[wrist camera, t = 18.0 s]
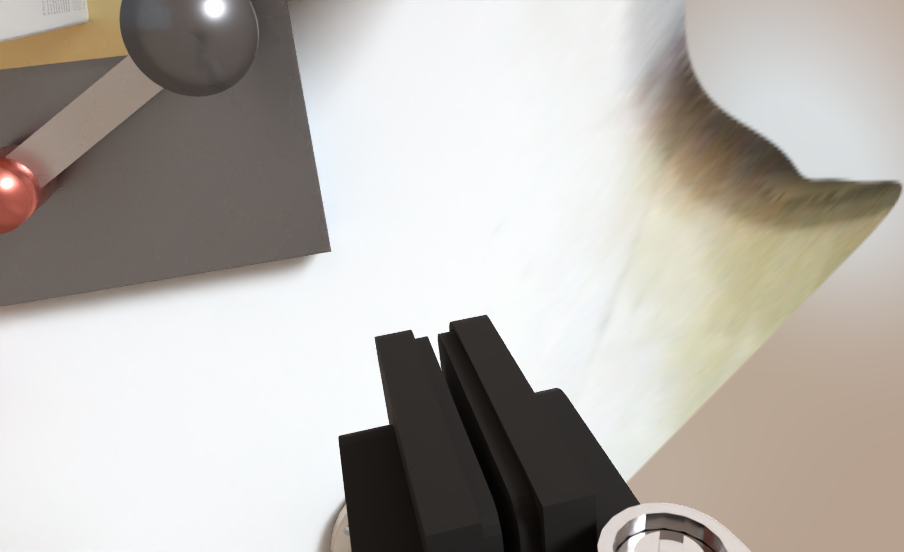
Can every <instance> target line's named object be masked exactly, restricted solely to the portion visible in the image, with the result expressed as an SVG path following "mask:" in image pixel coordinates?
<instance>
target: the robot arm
mask: <svg viewBox="0 0 904 552" xmlns="http://www.w3.org/2000/svg"><path fill="white" fill-rule="evenodd" d="M449 331H450V332H446V333H441V334H438V346H439V353H440V361H441V368H440V366H439V363H438V361H437V358H436V356H435V353H434V351H433V348H432V346H431V343H430V341H429V339H428V337H422V338H417V339H415V338H414V335H413V332H412V330H407V331H402V332H397V333H392V334H387V335H382V336H377V337H375V343H376V349H377V355H378V361H379V367H380V373H381V378H382V384H383V390H384V396H385V401H386V407H387V413H388V419H389V425H386V426H382V427H377V428H373V429H368V430H364V431H359V432H355V433H350V434H345V435H341V436H339V448H340V456H341V465H342V474H343V482H344V491H345V500H346V504H345V505H344V507H343V509H342V510H341V512H340V513H339V515H338V518H337V520H336V523H335V525H334V528H333V533H332V539H331V552H751V551H750V550H749V549H748V548H747V547H746V546H745V545H744V544H743V543H742V542H741V541H740V540H739V539H738V538H737V537H736V536H735V535H734V534H732V533H731V532H730V531H729V530H728V529H727V528H725V527H724V526H723V525H722V524H720V523H719V522H717V521H716V520H715V519H713V518H712V517H711V516H709V515H706V514H704V513H702V512H700V511H697V510H695V509H693V508H690V507H686V506H681V505H676V504H672V503H645V504H641V505H640V503H639V502H638V500H637V499H636V497H635V496H634V494H633V493H632V491H631V490H630V488H629V487H628V486H627V484H626V483H625V481H624V480H623V478H622V477H621V475H620V474H619V472H618V471H617V469H616V468H615V466H614V465H613V464H612V462H611V461H610V459H609V458H608V456H607V455H606V453H605V452H604V450H603V449H602V447H601V446H600V444H599V443H598V442H597V440H596V439H595V437H594V436H593V434H592V433H591V431H590V430H589V428H588V427H587V425H586V424H585V422H584V421H583V420H582V418H581V417H580V415H579V414H578V412H577V411H576V409H575V408H574V406H573V405H572V403H571V402H570V400H569V399H568V397H567V396H566V395H565V394H564V392H563V391H562V390H561V389H558V388H554V389H549V390H545V391H540V392H536V393H534V391H533V390H532V388H531V386H530V385H529V383H528V381H527V380H526V378H525V376H524V375H523V373H522V372H521V370H520V368H519V367H518V365H517V363H516V362H515V360H514V358H513V357H512V355H511V353H510V352H509V350H508V349H507V347H506V345H505V344H504V342H503V340H502V339H501V337H500V335H499V334H498V332H497V330H496V329H495V327H494V326H493V324H492V322H491V321H490V319H489V317H488V316H487V315H483V316H478V317H473V318H468V319H462V320H457V321H452V322H450V325H449ZM441 369H442V371H441Z"/></svg>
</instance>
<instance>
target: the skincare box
mask: <svg viewBox="0 0 904 552" xmlns="http://www.w3.org/2000/svg"><path fill="white" fill-rule="evenodd" d="M88 20H89V13H88V6H87V0H0V42H5V41H10V40H14V39H18V38H23V37H27V36H32V35H36V34H41V33H45V32H49V31H53V30H57V29H62V28H66V27H70V26H75V25H78V24H82V23H87V22H88Z"/></svg>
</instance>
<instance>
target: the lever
mask: <svg viewBox="0 0 904 552" xmlns="http://www.w3.org/2000/svg"><path fill="white" fill-rule="evenodd" d="M162 89H163V88H162V87H161V86H159V85H157V84H156V83H154V82H153V81H152V80H150V79H149V78H148V77H147V76H146V75H145V74H144V73H143V72H141V71H140V69H139V68H138V67H137V66H136V64H135V63H134V62H133V60H132V59H131V57H130V55H128V56H127V57H126V58H124V59H123V60H122V61H121V62H120V63H118V64H117V65H116V66H115V67H114V68H112V69H111V70H110V71H109V72H108V73H106V74H105V75H104V76H103V77H102V78H100V79H99V80H98V81H97V82H95V83H94V84H93V85H92V86H91V87H89V88H88V89H87V90H86V91H85V92H83V93H82V94H81V95H80V96H79V97H77V98H76V99H75V100H74V101H72V102H71V103H70V104H69V105H68V106H66V107H65V108H64V109H63V110H62V111H60V112H59V113H58V114H57V115H56V116H54V117H53V118H52V119H51V120H50V121H48V122H47V123H46V124H45V125H43V126H42V127H41V128H40V129H39V130H37V131H36V132H35V133H34V134H33V135H31V136H30V137H29V138H28V139H27V140H25V141H24V142H23V143H22V144H20V145H9V146H4V147H1V148H0V234H5V233H8V232H11V231H13V230H14V229H16V228H17V227H19V226H20V225H21V224H22V223H23V222H24V221H25V220H26V219H27V218H28V217H30V216H31V215H32V214H33V213H34V212H35V211H36V210H37V209H38V208H39V207H41V206H42V205H43V204H44V203H45V202H46V201H47V200H48V199H49V198H50V197H51V196H52V195H53V193H54V191H55V188H56V181H57V180H56V176H57V175H58V174H59V173H61V172H62V171H63V170H64V169H66V168H67V167H68V166H69V165H70V164H72V163H73V162H74V161H75V160H77V159H78V158H79V157H80V156H81V155H83V154H84V153H85V152H86V151H88V150H89V149H90V148H91V147H92V146H94V145H95V144H96V143H97V142H99V141H100V140H101V139H102V138H103V137H105V136H106V135H107V134H108V133H110V132H111V131H112V130H113V129H114V128H116V127H117V126H118V125H119V124H121V123H122V122H123V121H124V120H125V119H127V118H128V117H129V116H130V115H132V114H133V113H134V112H135V111H136V110H138V109H139V108H140V107H141V106H143V105H144V104H145V103H146V102H147V101H149V100H150V99H151V98H152V97H154V96H155V95H156V94H157V93H158V92H160V91H161V90H162Z"/></svg>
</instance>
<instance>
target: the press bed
mask: <svg viewBox="0 0 904 552" xmlns="http://www.w3.org/2000/svg"><path fill="white" fill-rule="evenodd" d="M87 6H88V13H89V20H88V22H87V23H82V24H78V25H75V26H70V27H66V28H62V29H57V30H53V31H49V32H45V33H41V34H36V35H32V36H27V37H23V38H18V39H14V40H10V41H5V42H0V148H1V147H4V146H9V145H20V144H22V143H23V142H24V141H25V140H27V139H28V138H29V137H30V136H31V135H33V134H34V133H35V132H36V131H37V130H39V129H40V128H41V127H42V126H43V125H45V124H46V123H47V122H48V121H50V120H51V119H52V118H53V117H54V116H56V115H57V114H58V113H59V112H60V111H62V110H63V109H64V108H65V107H66V106H68V105H69V104H70V103H71V102H72V101H74V100H75V99H76V98H77V97H79V96H80V95H81V94H82V93H83V92H85V91H86V90H87V89H88V88H89V87H91V86H92V85H93V84H94V83H95V82H97V81H98V80H99V79H100V78H102V77H103V76H104V75H105V74H106V73H108V72H109V71H110V70H111V69H112V68H114V67H115V66H116V65H117V64H118V63H120V62H121V61H122V60H123V59H124V58H126V57H127V56H128V55H130V57H131V59H132V60H133V62H134V63H135V64H136V66H137V67H138V68H139V69H140V71H141V72H143V73H144V74H145V75H146V76H147V77H148V78H149V79H150V80H152V81H153V82H154V83H156V84H157V85H159V86H161V87H162V88H163V89H162V90H161V91H160V92H158V93H157V94H156V95H155V96H154V97H152V98H151V99H150V100H149V101H147V102H146V103H145V104H144V105H143V106H141V107H140V108H139V109H138V110H136V111H135V112H134V113H133V114H132V115H130V116H129V117H128V118H127V119H125V120H124V121H123V122H122V123H121V124H119V125H118V126H117V127H116V128H114V129H113V130H112V131H111V132H110V133H108V134H107V135H106V136H105V137H103V138H102V139H101V140H100V141H99V142H97V143H96V144H95V145H94V146H92V147H91V148H90V149H89V150H88V151H86V152H85V153H84V154H83V155H81V156H80V157H79V158H78V159H77V160H75V161H74V162H73V163H72V164H70V165H69V166H68V167H67V168H66V169H64V170H63V171H62V172H61V173H59V174H58V175H57V176H56V180H57V181H56V188H55V191H54V193H53V195H52V196H51V197H50V198H49V199H48V200H47V201H46V202H45V203H44V204H43V205H42V206H41V207H39V208H38V209H37V210H36V211H35V212H34V213H33V214H32V215H31V216H30V217H28V218H27V219H26V220H25V221H24V222H23V223H22V224H21V225H20V226H19V227H17V228H16V229H14V230H13V231H11V232H8V233H5V234H0V306H6V305H12V304H18V303H24V302H30V301H36V300H42V299H48V298H54V297H60V296H66V295H72V294H78V293H84V292H90V291H96V290H102V289H108V288H114V287H120V286H126V285H132V284H138V283H144V282H150V281H156V280H162V279H168V278H174V277H180V276H186V275H192V274H198V273H204V272H210V271H216V270H222V269H228V268H234V267H240V266H246V265H252V264H258V263H264V262H270V261H277V260H283V259H289V258H295V257H301V256H307V255H313V254H319V253H325V252H331V248H330V242H329V236H328V230H327V225H326V219H325V213H324V208H323V202H322V197H321V191H320V185H319V180H318V174H317V169H316V163H315V158H314V152H313V146H312V141H311V135H310V130H309V124H308V118H307V113H306V107H305V102H304V96H303V90H302V85H301V79H300V74H299V68H298V62H297V57H296V51H295V46H294V40H293V34H292V29H291V23H290V18H289V12H288V6H287V1H286V0H87Z"/></svg>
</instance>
